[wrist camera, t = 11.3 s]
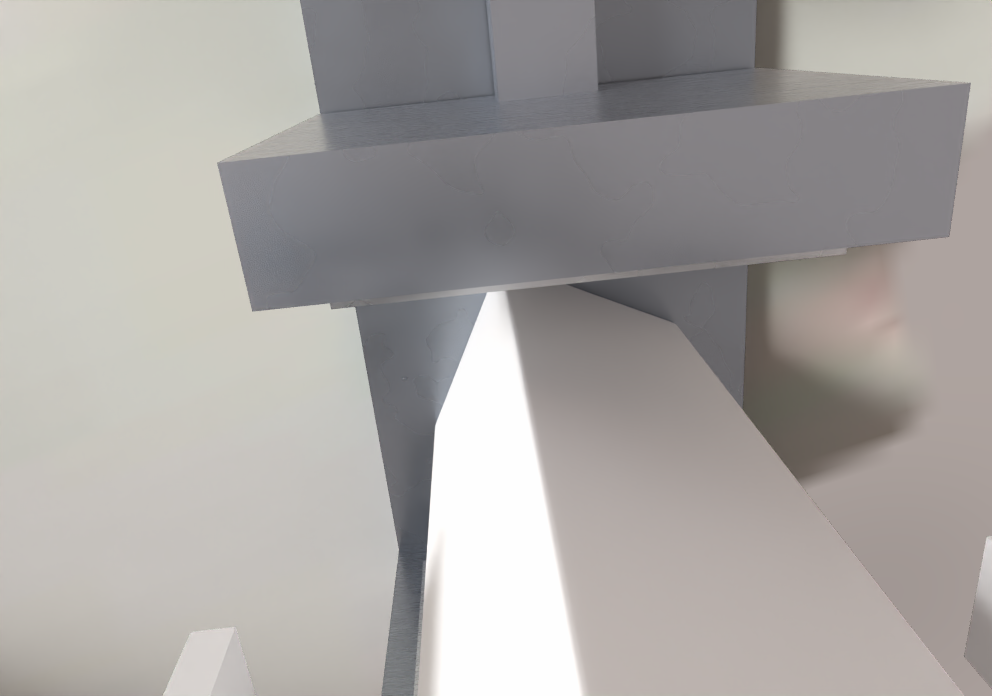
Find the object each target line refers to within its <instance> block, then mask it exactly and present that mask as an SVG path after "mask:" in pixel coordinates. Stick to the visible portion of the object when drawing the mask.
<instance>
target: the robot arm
mask: <svg viewBox="0 0 992 696" xmlns="http://www.w3.org/2000/svg"><path fill="white" fill-rule="evenodd" d="M964 657H965V658H966V659H967V660H968V662H969V663H970V664H971V665H972V666H973V668H974V669H975V670H976V671H977V672H978V674H979V675H980V676H981V677H982V678H983V679H984V680H985V682H986V683H987V684H988V685H989V686H990V687H991V689H992V536H987V537H986V543H985V548H984V553H983V558H982V564H981V569H980V575H979V580H978V585H977V591H976V595H975V601H974V606H973V611H972V616H971V622H970V627H969V633H968V638H967V643H966V648H965V653H964ZM163 696H256V694H255V690H254V687H253V683H252V680H251V677H250V673H249V670H248V667H247V663H246V660H245V657H244V653H243V650H242V647H241V643H240V640H239V636H238V633H237V630H236V627H228V628H220V629H211V630H203V631H195V632H191V633H190V635H189V637H188V639H187V642H186V644H185V646H184V649H183V651H182V653H181V655H180V658H179V660H178V662H177V664H176V667H175V669H174V671H173V674H172V676H171V678H170V680H169V683H168V685H167V687H166V689H165V692H164V694H163Z"/></svg>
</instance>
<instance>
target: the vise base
mask: <svg viewBox="0 0 992 696" xmlns="http://www.w3.org/2000/svg"><path fill="white" fill-rule="evenodd" d="M300 3H301V8H302V14H303V19H304V25H305V30H306V36H307V42H308V47H309V53H310V58H311V64H312V69H313V75H314V80H315V86H316V91H317V97H318V103H319V108H320V114H325V113H335V112H344V111H354V110H363V109H373V108H382V107H392V106H401V105H411V104H420V103H429V102H439V101H448V100H458V99H467V98H477V97H486V96H495V92H494V81H493V71H492V60H491V49H490V38H489V28H488V17H487V6H486V0H300ZM594 5H595V28H596V52H597V76H598V85H600V84H609V83H618V82H628V81H637V80H647V79H656V78H666V77H675V76H685V75H694V74H704V73H713V72H722V71H732V70H741V69H751V68H755V39H756V10H757V0H594ZM747 273H748V265H740V266H731V267H721V268H712V269H703V270H693V271H684V272H675V273H665V274H656V275H647V276H637V277H628V278H619V279H609V280H600V281H591V282H581V283H572V284H566V285H569V286H572V287H575V288H577V289H580V290H583V291H586V292H589V293H591V294H594V295H597V296H600V297H603V298H605V299H608V300H611V301H614V302H617V303H619V304H622V305H625V306H628V307H631V308H633V309H636V310H639V311H642V312H645V313H647V314H650V315H653V316H656V317H659V318H661V319H664V320H667V321H670V322H672V323H674V324H676V325H677V326H678V327H679V329H680V330H681V331H682V333H683V334H684V335H685V336H686V338H687V339H688V340H689V342H690V343H691V344H692V345H693V347H694V348H695V349H696V351H697V352H698V353H699V354H700V356H701V357H702V358H703V360H704V361H705V362H706V363H707V365H708V366H709V367H710V369H711V370H712V371H713V372H714V374H715V375H716V376H717V378H718V379H719V380H720V381H721V383H722V384H723V385H724V387H725V388H726V389H727V390H728V392H729V393H730V394H731V396H732V397H733V398H734V400H735V401H736V402H737V403H738V405H739V406H740V407H741V409H742V410H743V390H744V361H745V332H746V302H747ZM486 294H487V293H479V294H469V295H460V296H450V297H441V298H432V299H422V300H413V301H404V302H394V303H385V304H376V305H366V306H357V307H355V308H356V313H357V319H358V324H359V330H360V336H361V341H362V347H363V352H364V358H365V363H366V369H367V374H368V380H369V386H370V391H371V397H372V402H373V408H374V413H375V419H376V424H377V430H378V435H379V441H380V447H381V452H382V458H383V463H384V469H385V474H386V480H387V485H388V491H389V496H390V502H391V508H392V513H393V519H394V524H395V530H396V535H397V541H398V546H399V556H398V564H397V572H396V580H395V588H394V597H393V605H392V613H391V621H390V630H389V638H388V646H387V654H386V663H385V671H384V679H383V687H382V696H417V695H418V680H419V665H420V649H421V634H422V619H423V604H424V589H425V574H426V558H427V543H428V528H429V513H430V498H431V482H432V467H433V452H434V437H435V425H436V422H437V420H438V417H439V414H440V412H441V409H442V407H443V404H444V402H445V399H446V397H447V394H448V391H449V389H450V386H451V384H452V381H453V379H454V376H455V374H456V371H457V368H458V366H459V363H460V361H461V358H462V356H463V353H464V351H465V348H466V345H467V343H468V340H469V338H470V335H471V333H472V330H473V328H474V325H475V322H476V320H477V317H478V315H479V312H480V310H481V307H482V305H483V302H484V299H485V297H486Z"/></svg>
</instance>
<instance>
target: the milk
mask: <svg viewBox="0 0 992 696" xmlns="http://www.w3.org/2000/svg"><path fill="white" fill-rule="evenodd" d="M417 696H964V694H963V693H962V692H961V691H960V689H959V688H958V687H957V685H956V684H955V683H954V682H953V680H952V679H951V678H950V676H949V675H948V674H947V673H946V671H945V670H944V669H943V667H942V666H941V665H940V664H939V662H938V661H937V660H936V658H935V657H934V656H933V655H932V653H931V652H930V651H929V649H928V648H927V647H926V646H925V644H924V643H923V642H922V640H921V639H920V638H919V636H918V635H917V634H916V633H915V631H914V630H913V629H912V627H911V626H910V625H909V624H908V622H907V621H906V620H905V618H904V617H903V616H902V615H901V613H900V612H899V611H898V609H897V608H896V607H895V606H894V604H893V603H892V602H891V600H890V599H889V598H888V597H887V596H886V594H885V593H884V592H883V590H882V589H881V588H880V586H879V585H878V584H877V582H876V581H875V580H874V579H873V577H872V576H871V575H870V573H869V572H868V571H867V569H866V568H865V567H864V566H863V564H862V563H861V562H860V560H859V559H858V558H857V557H856V555H855V554H854V553H853V551H852V550H851V549H850V548H849V546H848V545H847V544H846V542H845V541H844V540H843V539H842V537H841V536H840V535H839V533H838V532H837V531H836V530H835V528H834V527H833V526H832V524H831V523H830V522H829V521H828V519H827V518H826V517H825V516H824V514H823V513H822V512H821V510H820V509H819V508H818V507H817V505H816V504H815V503H814V501H813V500H812V499H811V497H810V496H809V495H808V494H807V492H806V491H805V490H804V488H803V487H802V486H801V484H800V483H799V482H798V481H797V479H796V478H795V477H794V475H793V474H792V473H791V472H790V470H789V469H788V468H787V466H786V465H785V464H784V463H783V461H782V460H781V459H780V457H779V456H778V455H777V454H776V452H775V451H774V450H773V448H772V447H771V446H770V445H769V443H768V442H767V441H766V439H765V438H764V437H763V436H762V434H761V433H760V432H759V430H758V429H757V428H756V427H755V425H754V424H753V423H752V421H751V420H750V419H749V418H748V416H747V415H746V414H745V412H744V411H743V410H742V409H741V407H740V406H739V405H738V403H737V402H736V401H735V400H734V398H733V397H732V396H731V394H730V393H729V392H728V390H727V389H726V388H725V387H724V385H723V384H722V383H721V381H720V380H719V379H718V378H717V376H716V375H715V374H714V372H713V371H712V370H711V369H710V367H709V366H708V365H707V363H706V362H705V361H704V360H703V358H702V357H701V356H700V354H699V353H698V352H697V351H696V349H695V348H694V347H693V345H692V344H691V343H690V342H689V340H688V339H687V338H686V336H685V335H684V334H683V333H682V331H681V330H680V329H679V327H678V326H677V325H676V324H674V323H672V322H670V321H667V320H664V319H661V318H659V317H656V316H653V315H650V314H647V313H645V312H642V311H639V310H636V309H633V308H631V307H628V306H625V305H622V304H619V303H617V302H614V301H611V300H608V299H605V298H603V297H600V296H597V295H594V294H591V293H589V292H586V291H583V290H580V289H577V288H575V287H572V286H569V285H566V284H563V285H553V286H544V287H535V288H525V289H516V290H507V291H497V292H488V293H487V294H486V297H485V299H484V302H483V305H482V307H481V310H480V312H479V315H478V317H477V320H476V322H475V325H474V328H473V330H472V333H471V335H470V338H469V340H468V343H467V345H466V348H465V351H464V353H463V356H462V358H461V361H460V363H459V366H458V368H457V371H456V374H455V376H454V379H453V381H452V384H451V386H450V389H449V391H448V394H447V397H446V399H445V402H444V404H443V407H442V409H441V412H440V414H439V417H438V420H437V422H436V425H435V437H434V452H433V467H432V482H431V498H430V513H429V528H428V543H427V558H426V574H425V589H424V604H423V619H422V634H421V649H420V665H419V680H418V695H417Z"/></svg>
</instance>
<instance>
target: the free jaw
mask: <svg viewBox="0 0 992 696" xmlns="http://www.w3.org/2000/svg"><path fill="white" fill-rule="evenodd" d="M486 6H487V17H488V28H489V38H490V49H491V60H492V71H493V81H494V92H495V96H486V97H477V98H467V99H458V100H448V101H439V102H429V103H420V104H411V105H401V106H392V107H382V108H373V109H363V110H354V111H344V112H335V113H325V114H318V115H316V116H314V117H312V118H310V119H308V120H305V121H303V122H301V123H299V124H297V125H295V126H293V127H291V128H289V129H287V130H285V131H282V132H280V133H278V134H276V135H274V136H272V137H270V138H268V139H266V140H264V141H262V142H260V143H257V144H255V145H253V146H251V147H249V148H247V149H245V150H243V151H241V152H239V153H237V154H235V155H232V156H230V157H228V158H226V159H224V160H222V161H220V162H218V163H217V164H218V168H219V173H220V177H221V181H222V185H223V189H224V194H225V198H226V202H227V206H228V210H229V215H230V219H231V223H232V227H233V232H234V236H235V240H236V244H237V248H238V253H239V257H240V261H241V265H242V269H243V274H244V278H245V282H246V286H247V291H248V295H249V299H250V303H251V307H252V311H261V310H270V309H280V308H289V307H298V306H308V305H317V304H327V303H330V305H331V309H338V308H348V307H357V306H366V305H376V304H385V303H394V302H404V301H413V300H422V299H432V298H441V297H450V296H460V295H469V294H479V293H488V292H497V291H507V290H516V289H525V288H535V287H544V286H553V285H563V284H572V283H581V282H591V281H600V280H609V279H619V278H628V277H637V276H647V275H656V274H665V273H675V272H684V271H693V270H703V269H712V268H721V267H731V266H740V265H750V264H759V263H768V262H778V261H787V260H796V259H806V258H815V257H824V256H834V255H843V254H846V250H847V248H850V247H859V246H869V245H878V244H887V243H897V242H906V241H916V240H925V239H933V238H943V237H949V235H950V228H951V221H952V213H953V206H954V199H955V192H956V185H957V178H958V171H959V163H960V156H961V149H962V142H963V135H964V128H965V121H966V113H967V106H968V99H969V92H970V85H971V83H965V82H951V81H937V80H923V79H909V78H896V77H882V76H868V75H854V74H840V73H826V72H812V71H798V70H784V69H770V68H751V69H741V70H732V71H722V72H713V73H704V74H694V75H685V76H675V77H666V78H656V79H647V80H637V81H628V82H618V83H609V84H600V85H598V76H597V52H596V28H595V5H594V0H486Z"/></svg>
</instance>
